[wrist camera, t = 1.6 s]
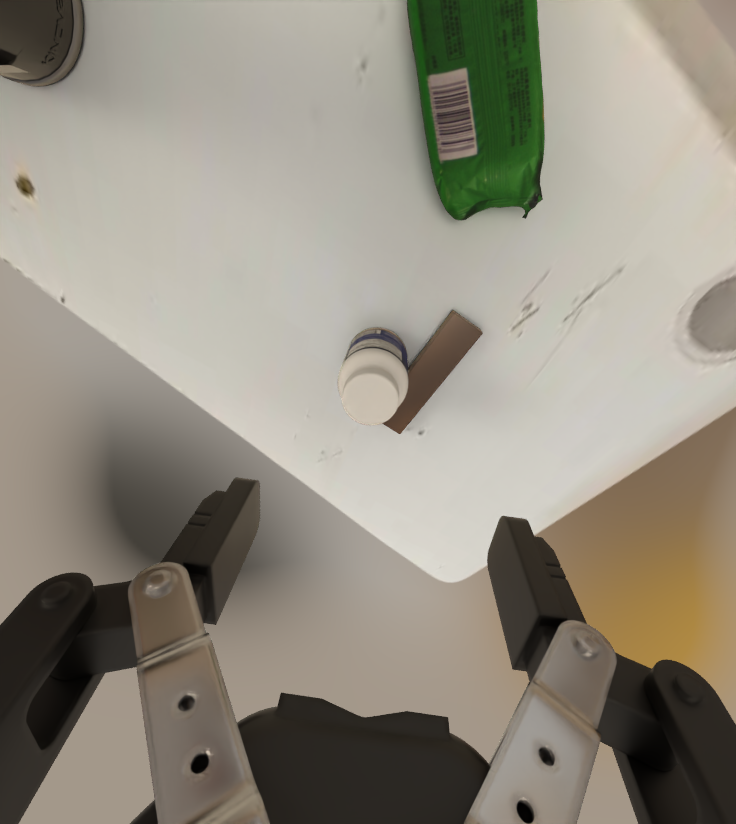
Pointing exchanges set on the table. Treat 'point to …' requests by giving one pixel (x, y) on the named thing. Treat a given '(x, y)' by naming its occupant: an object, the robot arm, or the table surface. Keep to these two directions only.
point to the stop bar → (434, 366)
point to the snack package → (480, 101)
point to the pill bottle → (374, 376)
